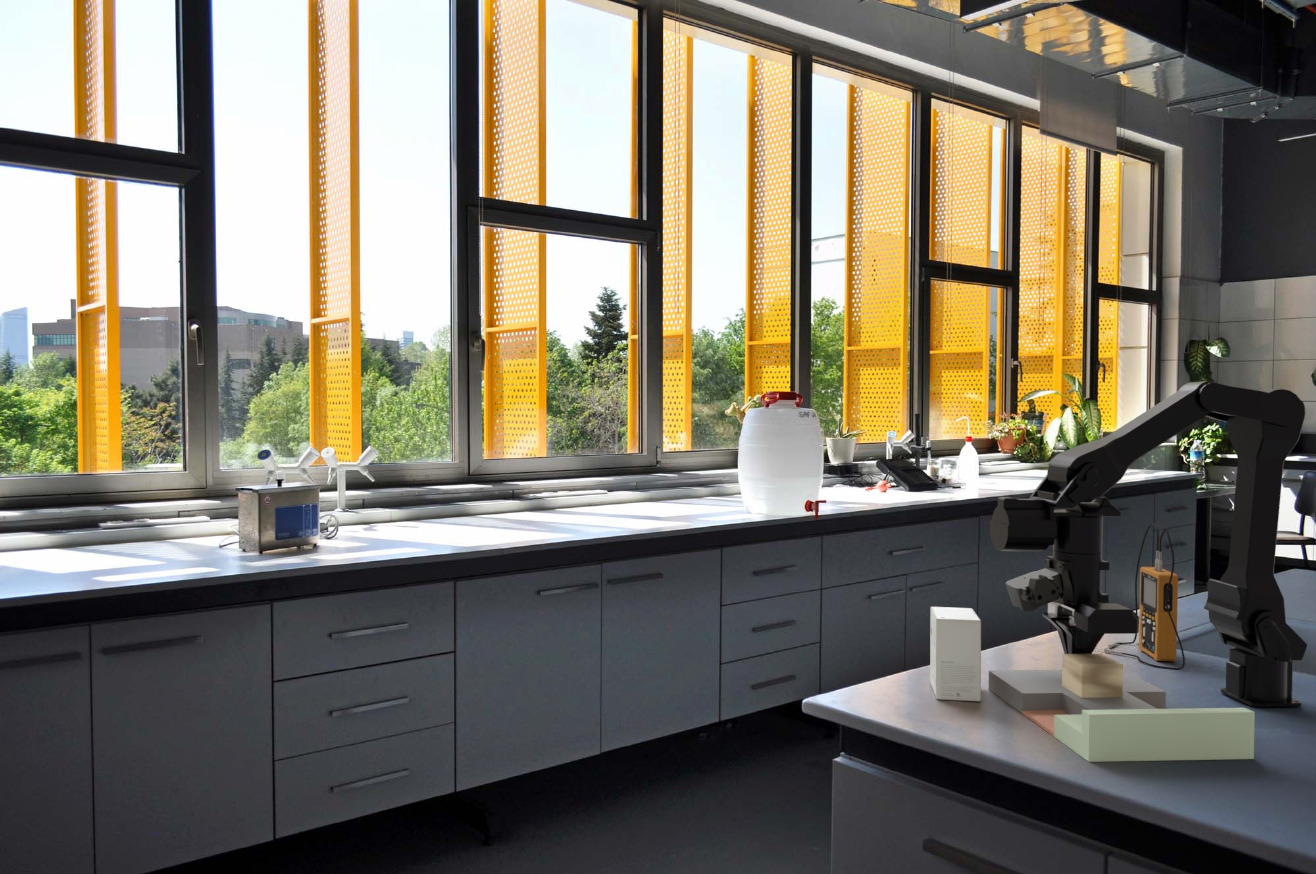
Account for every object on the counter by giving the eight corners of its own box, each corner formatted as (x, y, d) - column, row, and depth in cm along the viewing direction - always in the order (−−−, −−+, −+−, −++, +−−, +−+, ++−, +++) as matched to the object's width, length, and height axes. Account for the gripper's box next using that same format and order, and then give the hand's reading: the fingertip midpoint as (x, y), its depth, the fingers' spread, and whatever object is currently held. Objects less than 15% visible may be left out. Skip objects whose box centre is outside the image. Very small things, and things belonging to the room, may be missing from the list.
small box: (981, 703, 116) (982, 620, 116) (935, 700, 117) (936, 618, 117) (972, 685, 124) (973, 607, 124) (929, 682, 125) (930, 605, 125)
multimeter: (1081, 642, 148) (1084, 518, 147) (1148, 645, 146) (1150, 519, 146) (1114, 667, 133) (1116, 529, 132) (1188, 670, 132) (1190, 531, 131)
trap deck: (1120, 687, 123) (1120, 650, 123) (1253, 758, 98) (1254, 712, 97) (988, 689, 122) (988, 651, 122) (1088, 761, 97) (1089, 714, 96)
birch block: (1100, 685, 115) (1101, 653, 115) (1122, 697, 110) (1122, 664, 110) (1061, 685, 115) (1062, 654, 115) (1081, 697, 110) (1081, 664, 110)
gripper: (985, 540, 126) (983, 654, 126) (1049, 563, 107) (1047, 696, 107) (1065, 540, 126) (1063, 653, 127) (1143, 563, 107) (1140, 695, 108)
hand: (1075, 673), depth 117 cm, fingers closed
